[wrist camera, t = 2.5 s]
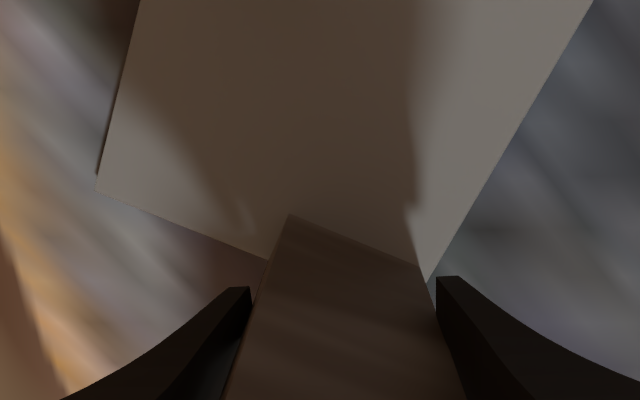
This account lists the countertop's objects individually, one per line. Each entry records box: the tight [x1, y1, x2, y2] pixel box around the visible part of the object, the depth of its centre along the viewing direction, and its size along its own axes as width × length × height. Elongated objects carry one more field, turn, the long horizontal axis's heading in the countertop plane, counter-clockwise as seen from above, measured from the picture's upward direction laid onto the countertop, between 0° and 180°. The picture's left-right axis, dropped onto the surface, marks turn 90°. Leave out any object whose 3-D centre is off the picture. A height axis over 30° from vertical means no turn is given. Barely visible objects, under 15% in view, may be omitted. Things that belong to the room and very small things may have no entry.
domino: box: [219, 214, 467, 400], centre depth 11 cm, size 2×5×9 cm, turn 67°
